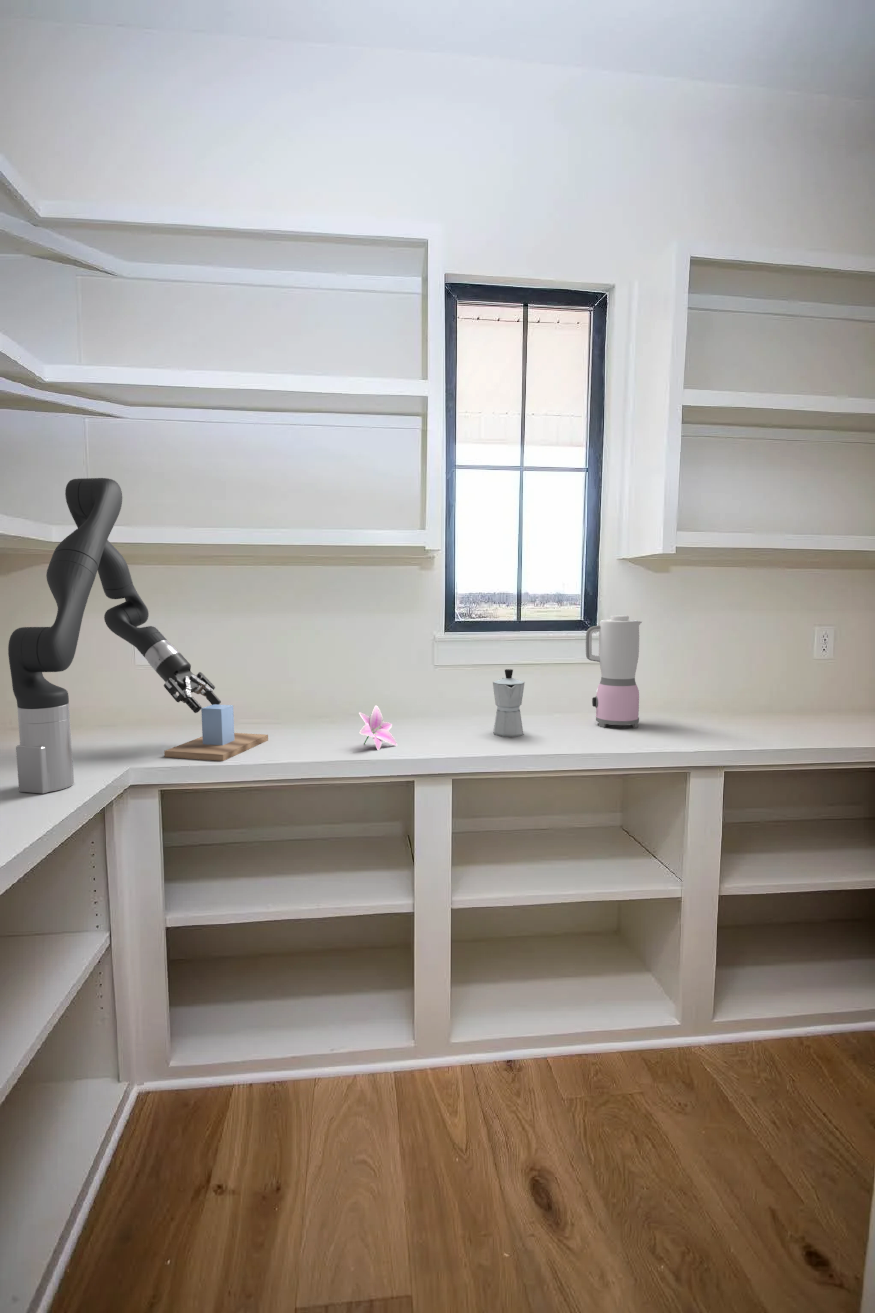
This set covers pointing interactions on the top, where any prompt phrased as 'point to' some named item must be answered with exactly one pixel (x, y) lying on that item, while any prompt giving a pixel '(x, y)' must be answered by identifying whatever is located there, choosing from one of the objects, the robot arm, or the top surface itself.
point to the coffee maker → (508, 706)
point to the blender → (616, 671)
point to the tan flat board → (216, 748)
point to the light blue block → (217, 724)
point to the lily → (377, 728)
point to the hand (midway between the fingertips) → (208, 707)
